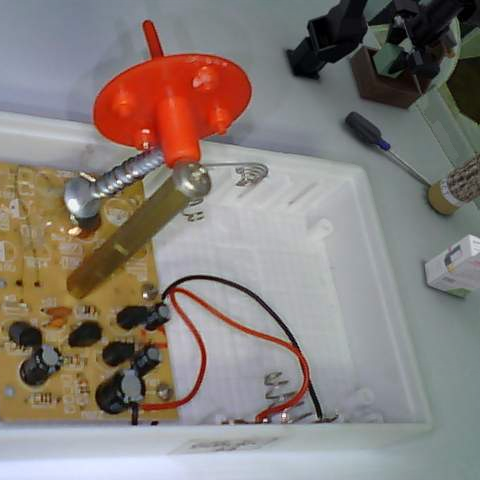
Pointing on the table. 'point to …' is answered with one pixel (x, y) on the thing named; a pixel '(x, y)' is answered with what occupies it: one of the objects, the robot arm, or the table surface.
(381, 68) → the block
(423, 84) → the lid
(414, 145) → the table surface
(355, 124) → the screwdriver
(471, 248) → the ink box
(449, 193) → the canister
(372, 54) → the chest
